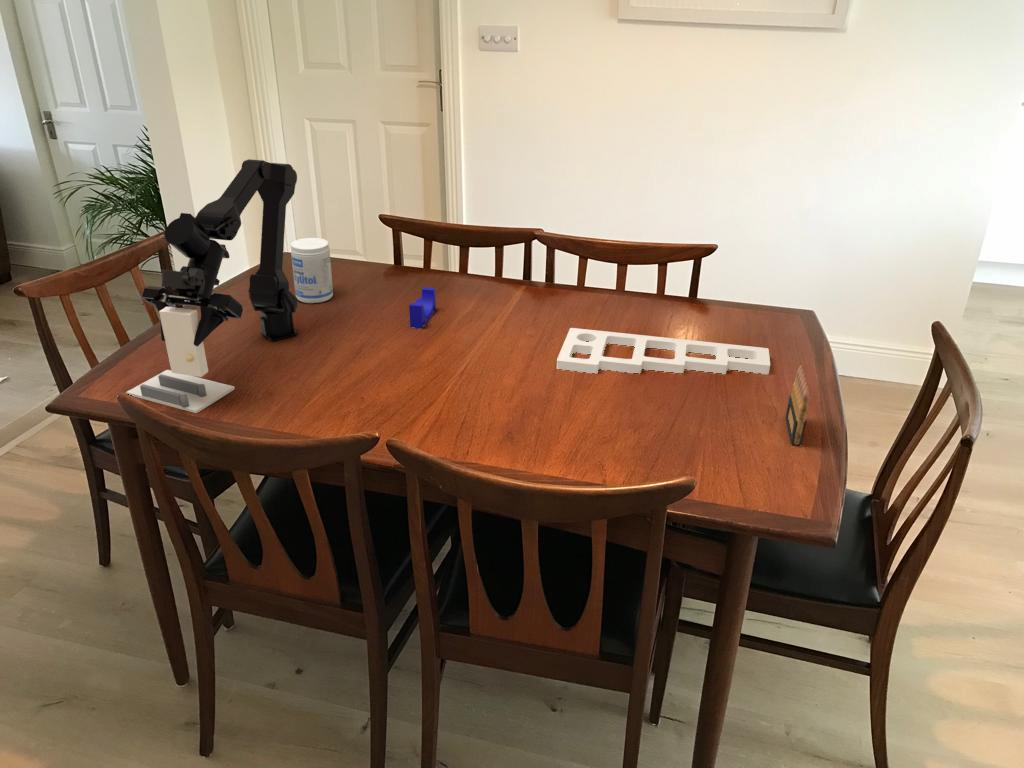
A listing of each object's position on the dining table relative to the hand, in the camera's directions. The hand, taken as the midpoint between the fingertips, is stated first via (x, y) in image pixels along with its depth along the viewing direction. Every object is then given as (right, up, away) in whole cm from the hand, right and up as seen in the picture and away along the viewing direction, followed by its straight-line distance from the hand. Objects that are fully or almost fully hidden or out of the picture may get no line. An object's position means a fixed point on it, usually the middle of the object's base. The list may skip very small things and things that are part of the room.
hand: (179, 343), depth 155 cm
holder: (+97, -4, +26) cm, 100 cm away
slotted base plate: (-4, -9, +11) cm, 15 cm away
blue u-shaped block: (+41, +8, +46) cm, 62 cm away
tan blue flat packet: (+117, -17, 0) cm, 118 cm away
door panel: (0, -5, +4) cm, 7 cm away
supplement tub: (+12, +15, +57) cm, 60 cm away
